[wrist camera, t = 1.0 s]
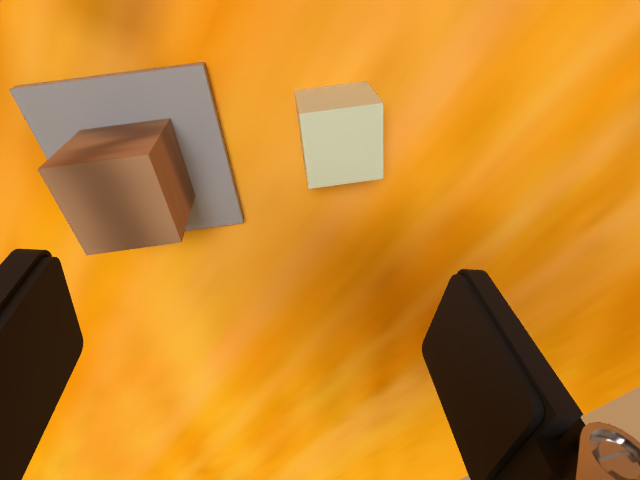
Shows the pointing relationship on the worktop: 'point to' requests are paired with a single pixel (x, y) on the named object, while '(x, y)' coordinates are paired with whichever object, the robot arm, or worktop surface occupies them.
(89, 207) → the walnut block
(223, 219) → the build pad
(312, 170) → the cream cube
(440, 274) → the worktop surface
